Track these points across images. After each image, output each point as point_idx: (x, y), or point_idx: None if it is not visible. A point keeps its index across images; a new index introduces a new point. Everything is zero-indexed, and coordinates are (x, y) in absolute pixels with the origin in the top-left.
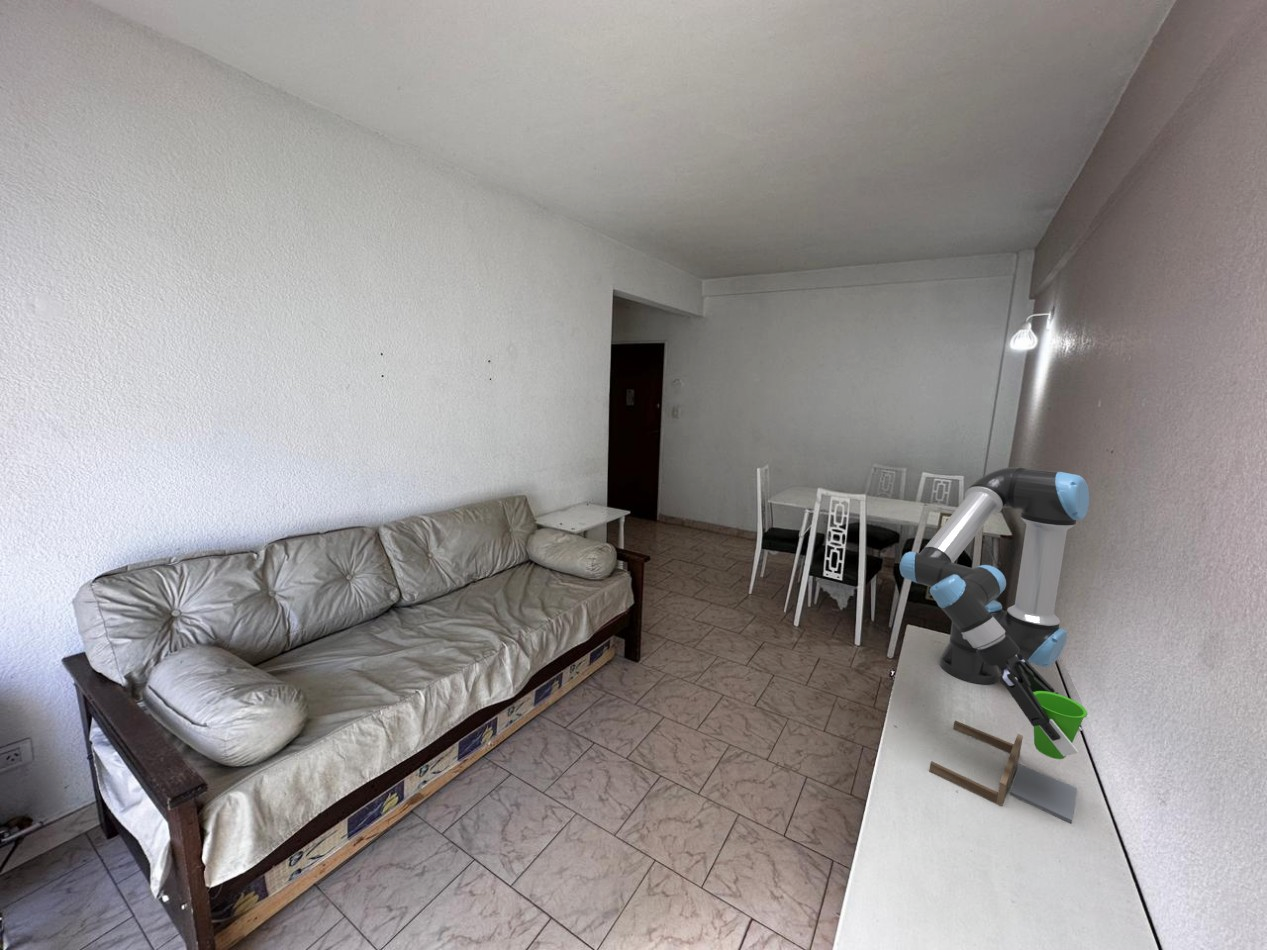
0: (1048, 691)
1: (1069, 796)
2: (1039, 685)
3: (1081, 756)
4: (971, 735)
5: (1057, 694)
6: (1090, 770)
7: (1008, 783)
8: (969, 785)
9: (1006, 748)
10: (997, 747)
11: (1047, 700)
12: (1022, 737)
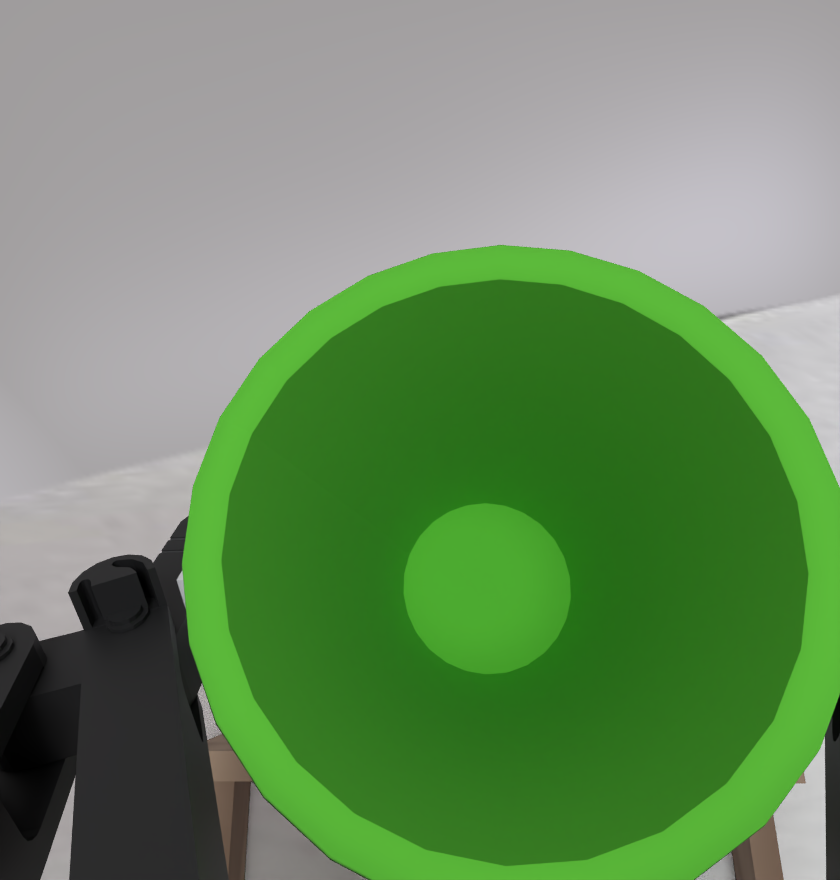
0: (158, 692)
1: None
2: (200, 860)
3: (49, 506)
4: None
5: (194, 574)
6: (140, 469)
7: None
8: None
9: (242, 797)
10: (245, 838)
11: (294, 672)
12: None
